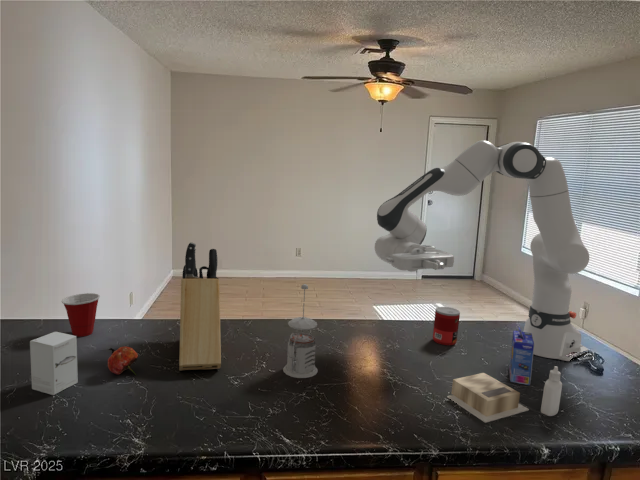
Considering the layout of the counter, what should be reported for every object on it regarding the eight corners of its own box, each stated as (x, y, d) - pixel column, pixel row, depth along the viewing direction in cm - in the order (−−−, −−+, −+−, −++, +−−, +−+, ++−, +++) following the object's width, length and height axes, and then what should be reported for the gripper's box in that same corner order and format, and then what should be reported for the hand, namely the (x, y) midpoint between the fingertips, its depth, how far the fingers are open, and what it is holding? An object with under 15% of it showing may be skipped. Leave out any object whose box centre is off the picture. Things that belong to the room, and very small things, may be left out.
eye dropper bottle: (533, 407, 122) (540, 363, 120) (553, 406, 123) (559, 362, 121) (545, 417, 118) (552, 371, 116) (565, 415, 119) (572, 370, 117)
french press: (323, 367, 138) (328, 283, 134) (305, 383, 128) (310, 293, 124) (293, 359, 142) (297, 277, 138) (273, 375, 132) (276, 286, 128)
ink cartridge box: (507, 368, 145) (513, 322, 143) (527, 371, 143) (534, 325, 141) (509, 382, 136) (515, 333, 133) (530, 386, 134) (537, 336, 132)
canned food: (457, 347, 159) (461, 315, 157) (432, 343, 161) (435, 312, 159) (455, 338, 167) (459, 308, 165) (432, 335, 168) (435, 305, 166)
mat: (488, 387, 132) (489, 386, 132) (528, 410, 121) (528, 409, 121) (447, 397, 125) (447, 396, 125) (485, 422, 114) (485, 421, 114)
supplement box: (53, 396, 115) (51, 346, 113) (31, 389, 117) (28, 340, 115) (79, 383, 122) (77, 335, 119) (56, 377, 124) (54, 330, 122)
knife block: (215, 327, 164) (217, 238, 159) (221, 374, 131) (224, 262, 125) (181, 329, 161) (181, 238, 156) (178, 376, 128) (178, 263, 122)
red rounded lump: (141, 375, 132) (119, 349, 134) (151, 360, 129) (128, 333, 130) (119, 389, 126) (96, 361, 128) (129, 374, 122) (105, 345, 124)
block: (483, 372, 131) (520, 392, 120) (481, 386, 132) (518, 407, 121) (453, 379, 126) (488, 400, 115) (451, 393, 126) (486, 416, 116)
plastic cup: (70, 327, 158) (69, 291, 156) (105, 327, 159) (104, 292, 157) (56, 339, 147) (55, 301, 145) (93, 340, 148) (92, 302, 146)
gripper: (384, 248, 146) (412, 257, 134) (436, 245, 156) (467, 254, 144) (382, 268, 147) (410, 279, 135) (434, 264, 157) (465, 275, 145)
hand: (440, 266), depth 139 cm, fingers closed
